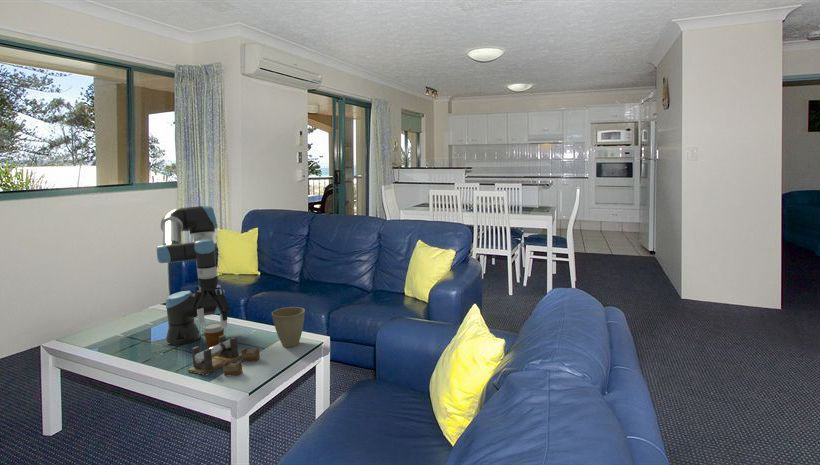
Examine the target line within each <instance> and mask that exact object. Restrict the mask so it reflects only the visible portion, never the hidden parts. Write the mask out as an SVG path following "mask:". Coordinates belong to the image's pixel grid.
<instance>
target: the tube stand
mask: <svg viewBox="0 0 820 465" xmlns="http://www.w3.org/2000/svg"><path fill="white" fill-rule="evenodd" d="M241 354H242V358H241V359H242V360H239V361H237V362H235V363H234V362H232V363H229V360H227V361H225V362H224V363H223V367H222V370H223V375H224V376H228V375H231V376H230V377H232V376H233V377H240V376H242V374H243V362H248V363H249V362H250V363H257V362H259V361H260V360H261V355H260V347H257V348H254V349H248V347H247V346H245V347H244V348H242V349H241Z"/></svg>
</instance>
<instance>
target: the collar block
mask: <svg viewBox="0 0 820 465" xmlns="http://www.w3.org/2000/svg"><path fill="white" fill-rule="evenodd" d="M218 338H219V343H222V342H225V341H227V340H226V335H225V334H224V335H222V336H220V337H218ZM229 339H230V345H231V349H229V350H227V351H225V352H224V353H221V354H218V355H216V356H214V357H212V355H211V349H208V348H207V349H204V350H203V352H204V361H203V362H201V363H197V362H196V361H195V354H197V353H200V352H201V351H200V346H194V347H192V348H191V356H192V365H193V366H192V367H189V368H187V372H188V371H192V372H196V373H200V374H204V375H206V374H208V373H210V374H212V373H213V371H214V372H216V371H218V370H221V368H222V369H223V363H224V362H225V361H227V360H229V363H234V362H236V361H238V360H240V359H242V352H239V348H238V347H239V346H238V338H237V337H236V336H234V337H232V338H229ZM215 370H216V371H215ZM211 372H212V373H211ZM204 375H203V376H204ZM208 375H209V374H208ZM206 376H207V375H206Z"/></svg>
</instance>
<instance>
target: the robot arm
mask: <svg viewBox="0 0 820 465" xmlns="http://www.w3.org/2000/svg"><path fill="white" fill-rule="evenodd" d="M216 229H218V222H217V217H216V215H215V210H214V208H213V206H210V205H201V206H190V207H189V206H187V207H177V208H174V209H172V210H170V211H169V212H168V213H166V214H165V215H164V216H163V218H162V219H161V222H160V230H161V232H162V245H158V246H157V247H156V258H157V261H158V263H160V264H171V263H179V262H186V261H196V263H195V264H196V272H197V279H198V280H197V281H198V286H196V287H194V288H195V289H194V290H195V293H192V291H191V290H183V291H178V292H175V293H173V294H170V295H168V297H167V298H166V299H165V305H166V306H165V308H166V315H167V322H168V323H167V324H168V329H167V332H166V333H167V334H166V336H165V341H167V342H168V343H170V344H182V345H187V344H190V342H191V343H192V342H193V343H194V342H196V341H198V340H199V339H201V338H200V337H201V334H200V331H199V329H198V326H197V324H196V322H195V318H197V323H198V325H202V324H204V323H206V321H205V317H206V316H212V315H213V316H215V315H218V314H219V318H220V320H219V322H220V323H221V329H223V328H224V329H226V328H228V312H230V311H231V307H230V305H229V301H228V300H227V298H226V296H225V289H223V288H222V285H220V284H219V278H218V270H217V261H216V260H217V259H216V247H215V242H214V240H213V236H214V234H215V233H216ZM182 232H189V235H190V236H191V237H192V238H193V242H185V243H183V242H182ZM167 342H166V343H167ZM186 343H187V344H186Z"/></svg>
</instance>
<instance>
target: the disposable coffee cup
mask: <svg viewBox="0 0 820 465" xmlns="http://www.w3.org/2000/svg"><path fill="white" fill-rule="evenodd" d="M202 332H203V335H204V338H205V343H206V346H207V349H209V348H211V347H213V346H216V345H217V344H219V338H218V337H220V336H222V335H225V328H223V329H221V321H218V322H217V321H216V322H211V323H207V324H205V325H203V327H202Z"/></svg>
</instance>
